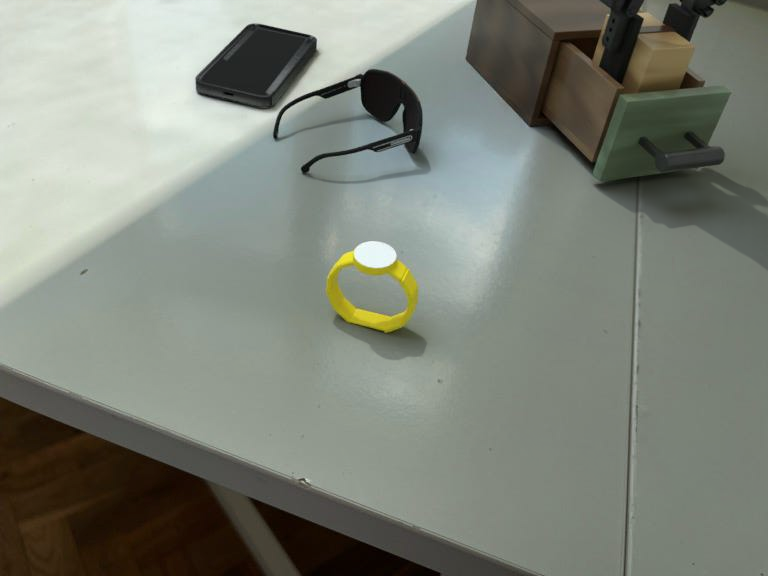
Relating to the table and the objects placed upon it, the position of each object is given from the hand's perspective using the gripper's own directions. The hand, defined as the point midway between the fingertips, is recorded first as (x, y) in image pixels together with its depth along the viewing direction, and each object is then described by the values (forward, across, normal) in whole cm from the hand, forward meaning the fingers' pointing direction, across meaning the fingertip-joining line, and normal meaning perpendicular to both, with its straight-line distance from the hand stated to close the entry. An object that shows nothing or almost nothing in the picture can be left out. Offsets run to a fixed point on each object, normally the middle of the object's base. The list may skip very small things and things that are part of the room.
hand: (632, 80), depth 71 cm
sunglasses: (+7, +25, -5) cm, 27 cm away
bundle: (0, 0, 0) cm, 0 cm away
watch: (+7, +31, +17) cm, 36 cm away
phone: (+7, +29, -20) cm, 36 cm away
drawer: (+6, 0, +1) cm, 6 cm away
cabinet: (+7, 0, -12) cm, 14 cm away
